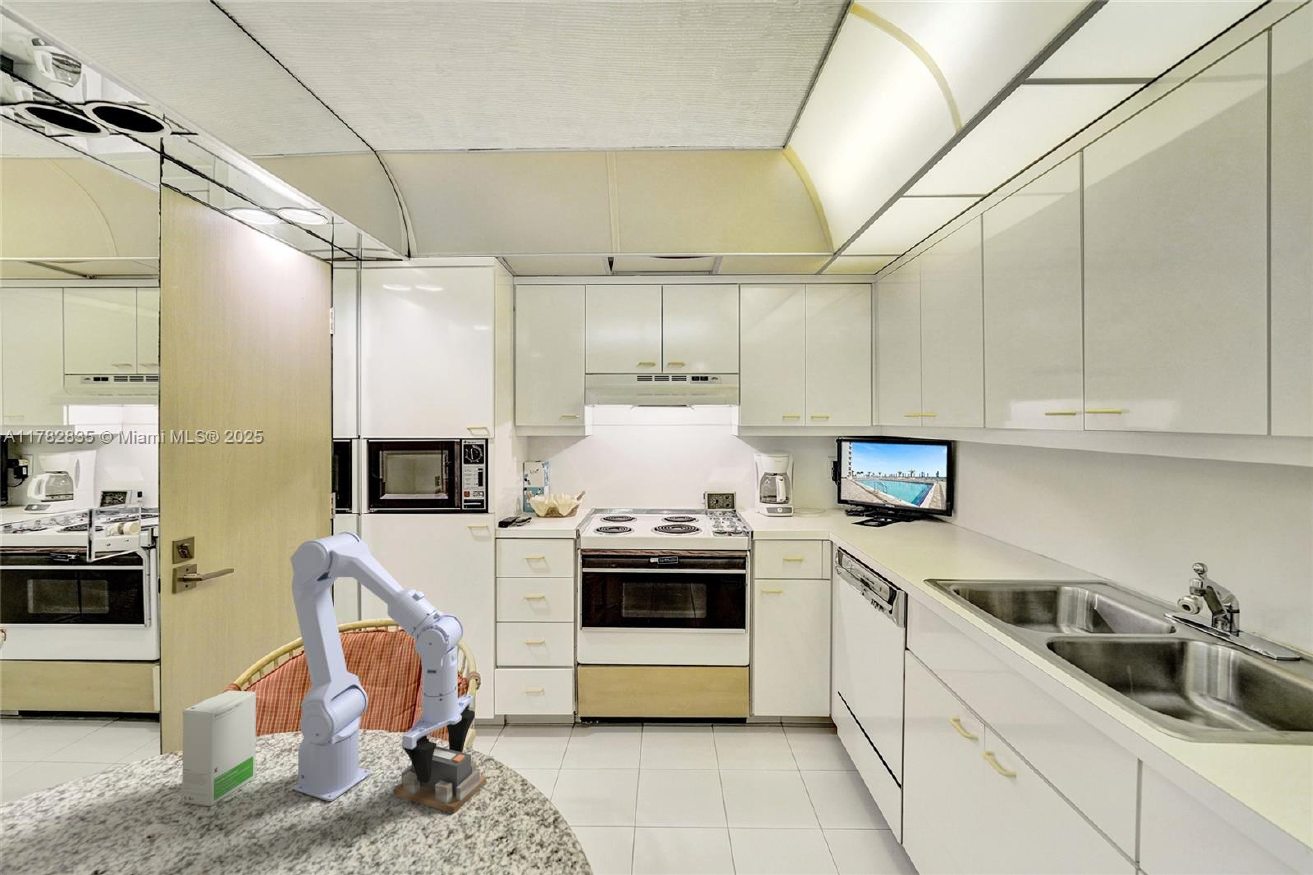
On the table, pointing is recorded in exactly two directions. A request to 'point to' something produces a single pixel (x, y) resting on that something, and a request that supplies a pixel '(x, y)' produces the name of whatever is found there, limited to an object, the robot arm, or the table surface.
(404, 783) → the mounting board
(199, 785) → the skincare box
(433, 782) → the grey rectangular block
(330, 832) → the table surface
